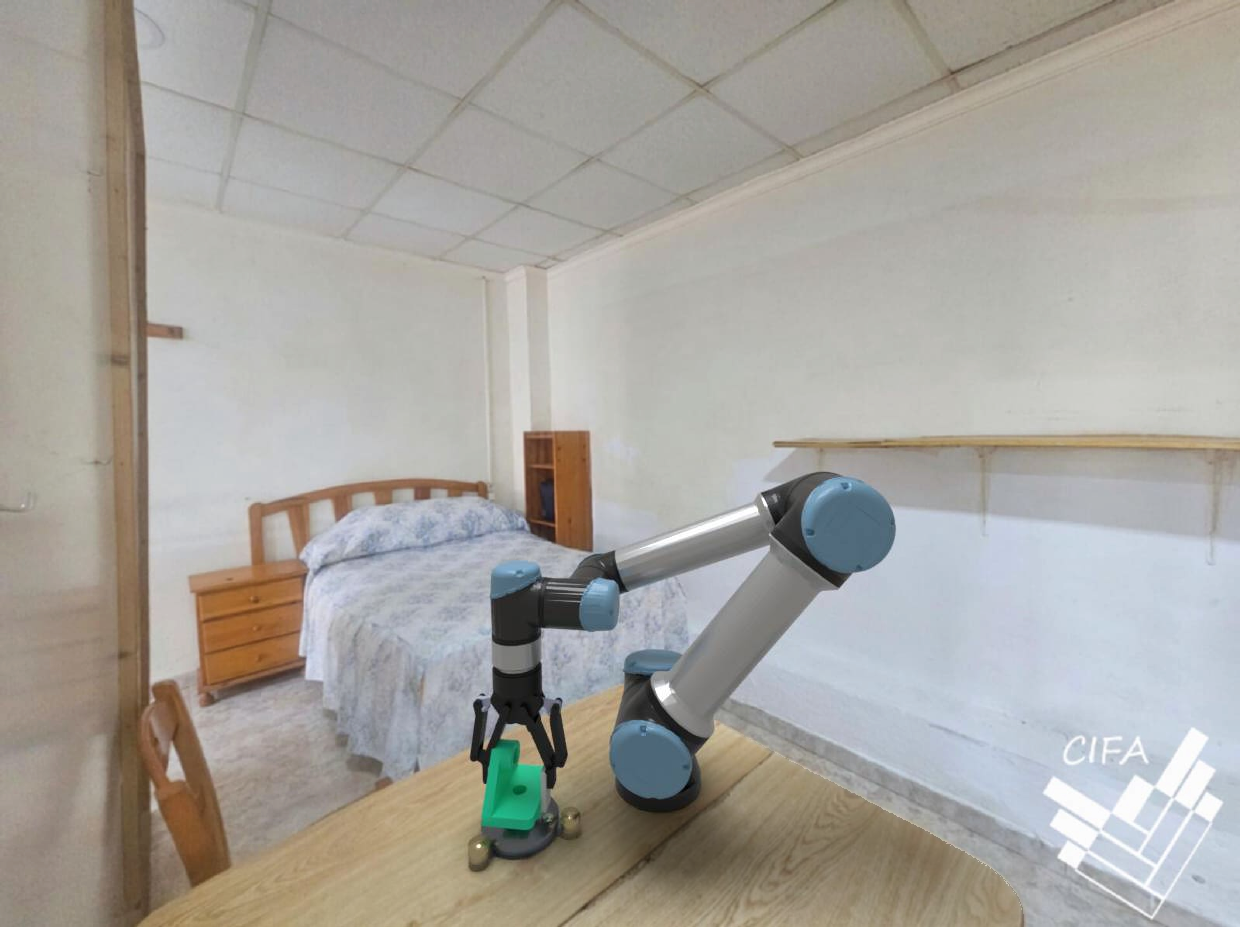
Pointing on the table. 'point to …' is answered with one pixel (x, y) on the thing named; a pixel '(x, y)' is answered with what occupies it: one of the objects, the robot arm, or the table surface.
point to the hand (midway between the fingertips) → (520, 803)
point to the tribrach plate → (523, 837)
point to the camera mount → (511, 789)
